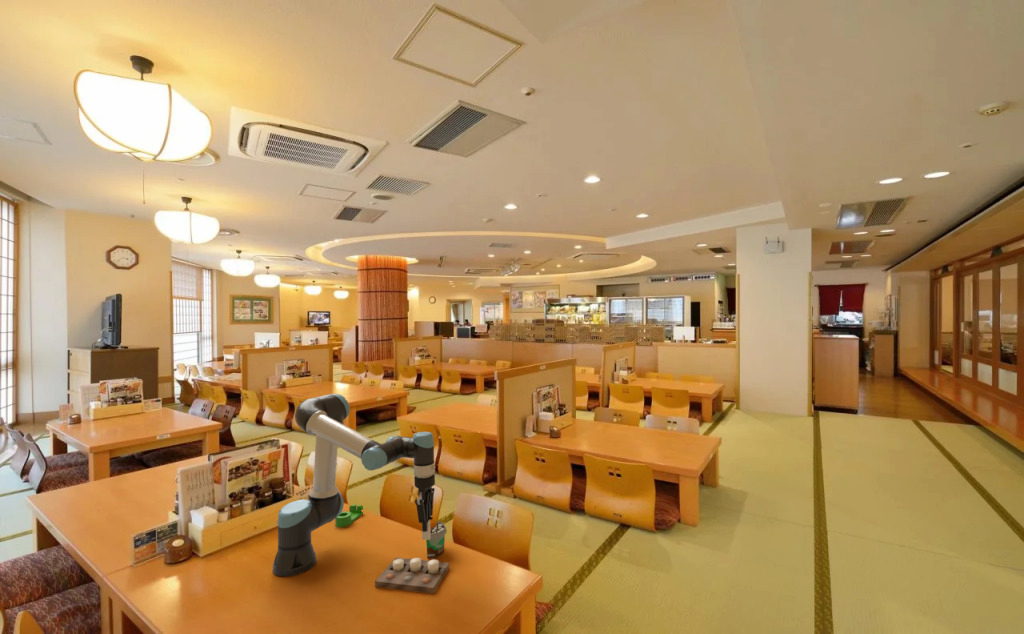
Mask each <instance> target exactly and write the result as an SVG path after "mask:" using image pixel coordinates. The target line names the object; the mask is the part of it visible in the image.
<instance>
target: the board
mask: <svg viewBox="0 0 1024 634" xmlns="http://www.w3.org/2000/svg"><path fill="white" fill-rule="evenodd" d="M397 559H402V560H404V569H403V570H402V571H394V570H393V561H394V560H397ZM411 559H412V558H402V557H394V559H393V560H392V561H391V562H390V563H389V565H388V566H386V568H385V569H384V571H383V572H382V573H381V574H380V575H379V576H378V577H377V579H375V581H374V582H375V583H374V587H375V588H382V589H383V588H384V589H389V590H391V589H392V590H397V591H398V590H399V591H405V592H407V591H409V592H416V593H424V594H425V593H426V594H431V595H433V594H434V593H435V592H436V590H437V588H438V587H439V585H440V584H441V582H442V580H443V579H444V578H445V576H446V574H447V572H448V571H449V569H450V563H449V562H444V561H443V562H442V561H439V572H438V573H437V574H435V575H431V574H428V562H429V561H430V560H426V559H425V560H424V559H421V571H419V572H417V573H413V572H410V560H411Z"/></svg>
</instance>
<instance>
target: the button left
mask: <svg viewBox="0 0 1024 634" xmlns="http://www.w3.org/2000/svg"><path fill="white" fill-rule="evenodd" d="M393 560H394V559H393ZM393 560H392V561H393ZM403 569H404V560H402V559H397V560H394V561H393V570H394V571H402V570H403Z"/></svg>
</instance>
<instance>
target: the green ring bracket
mask: <svg viewBox="0 0 1024 634" xmlns="http://www.w3.org/2000/svg"><path fill="white" fill-rule="evenodd" d="M348 509H349V510H348V511H347V510H346V511H345V510H344V511H342V512H341V514H340V515H339V516H338V517H337V518H335V519H334V522H335V523H334V526H335V527H336V528H346V527H348V525H349V526H350V525H351V524H352V523H354V521H356V520H357V519H359V518H360V517H361V516H362V515H363V514H364V507H363V505H362V504H358V505H357V504H356V503H355V504H354V503H353V504H351V505H349V508H348ZM361 510H363V512H362V511H361Z"/></svg>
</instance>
